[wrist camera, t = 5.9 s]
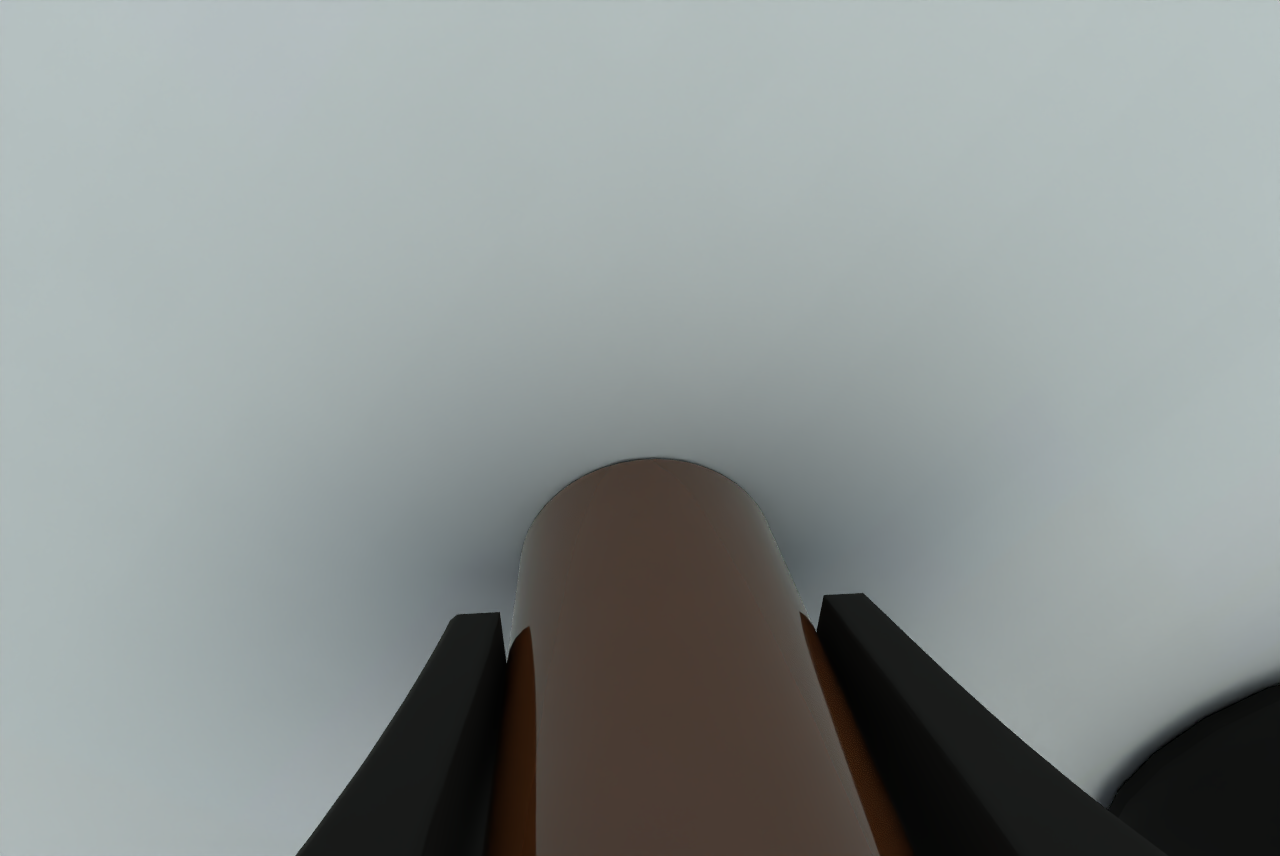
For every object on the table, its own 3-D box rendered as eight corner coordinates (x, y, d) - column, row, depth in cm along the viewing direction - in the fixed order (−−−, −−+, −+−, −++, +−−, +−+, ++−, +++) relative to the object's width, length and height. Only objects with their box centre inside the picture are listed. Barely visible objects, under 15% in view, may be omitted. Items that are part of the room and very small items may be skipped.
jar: (806, 595, 12) (1137, 1314, 5) (599, 686, 13) (624, 1434, 6) (709, 410, 10) (1035, 1184, 3) (468, 530, 11) (243, 1399, 4)
